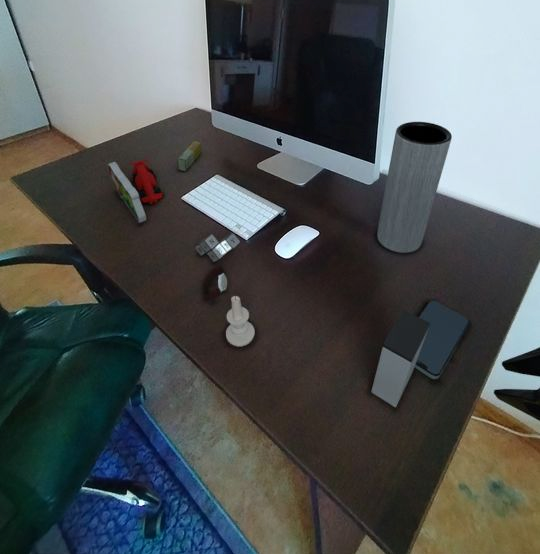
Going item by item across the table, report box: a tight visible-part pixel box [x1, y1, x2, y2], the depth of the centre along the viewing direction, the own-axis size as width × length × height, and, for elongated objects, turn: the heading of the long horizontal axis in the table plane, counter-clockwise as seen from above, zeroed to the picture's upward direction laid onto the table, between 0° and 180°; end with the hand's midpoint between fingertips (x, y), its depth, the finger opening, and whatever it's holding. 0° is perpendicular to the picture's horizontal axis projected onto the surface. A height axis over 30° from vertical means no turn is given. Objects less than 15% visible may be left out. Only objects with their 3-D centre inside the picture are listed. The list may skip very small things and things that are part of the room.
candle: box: [225, 295, 256, 347], centre depth 64 cm, size 5×5×10 cm
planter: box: [376, 121, 453, 254], centre depth 78 cm, size 10×10×27 cm
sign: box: [107, 161, 147, 224], centre depth 98 cm, size 22×2×10 cm, turn 36°
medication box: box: [177, 141, 202, 172], centre depth 117 cm, size 12×3×4 cm, turn 165°
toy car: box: [129, 158, 163, 205], centre depth 105 cm, size 6×18×5 cm, turn 26°
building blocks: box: [193, 232, 241, 263], centre depth 82 cm, size 5×5×8 cm
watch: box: [202, 266, 228, 301], centre depth 75 cm, size 8×5×4 cm, turn 172°
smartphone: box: [414, 299, 470, 380], centre depth 64 cm, size 8×2×15 cm
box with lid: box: [370, 309, 430, 408], centre depth 55 cm, size 4×7×13 cm, turn 143°
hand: (499, 379), depth 45 cm, fingers open, 4 cm apart
